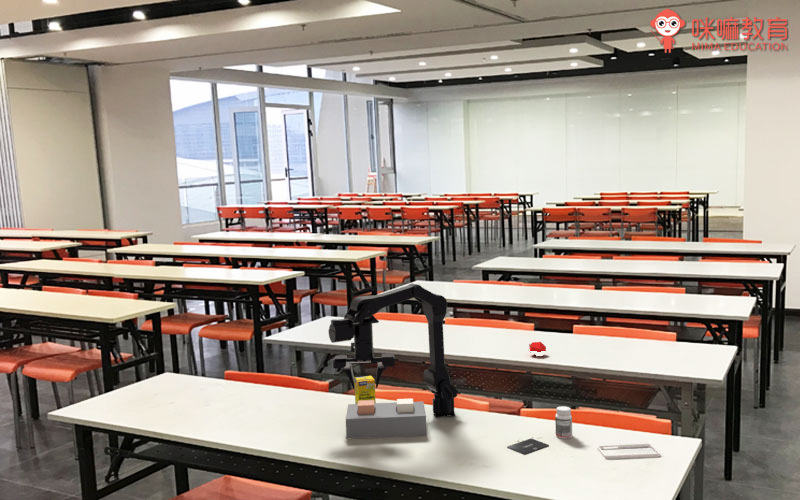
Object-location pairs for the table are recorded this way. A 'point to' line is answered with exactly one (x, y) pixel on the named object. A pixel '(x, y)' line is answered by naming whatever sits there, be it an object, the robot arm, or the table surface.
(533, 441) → the solid state drive
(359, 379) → the supplement box
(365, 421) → the key console
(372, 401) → the terracotta key
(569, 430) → the pill bottle
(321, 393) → the table surface
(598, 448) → the phone case
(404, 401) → the ivory key
